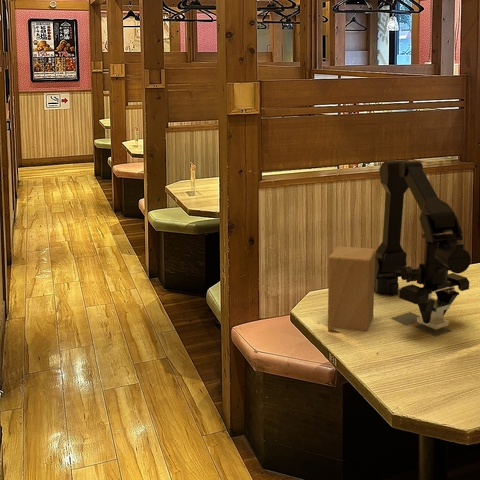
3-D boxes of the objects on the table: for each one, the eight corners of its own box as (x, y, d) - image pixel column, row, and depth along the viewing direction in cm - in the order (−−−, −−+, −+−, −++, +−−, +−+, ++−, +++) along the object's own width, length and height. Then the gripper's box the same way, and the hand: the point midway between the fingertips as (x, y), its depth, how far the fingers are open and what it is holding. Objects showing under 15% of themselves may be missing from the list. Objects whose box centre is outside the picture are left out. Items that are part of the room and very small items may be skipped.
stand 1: (389, 323, 172) (390, 318, 171) (410, 317, 175) (410, 312, 175) (406, 331, 167) (406, 325, 167) (426, 324, 171) (427, 318, 170)
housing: (429, 317, 168) (430, 297, 166) (448, 325, 163) (449, 304, 161) (416, 321, 165) (418, 300, 164) (435, 329, 160) (436, 308, 159)
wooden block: (373, 321, 173) (375, 248, 168) (367, 337, 164) (369, 259, 159) (335, 317, 176) (336, 245, 171) (327, 332, 167) (328, 256, 162)
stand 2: (412, 332, 166) (413, 326, 166) (429, 326, 169) (429, 321, 169) (435, 342, 160) (435, 336, 160) (451, 336, 163) (452, 330, 163)
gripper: (437, 246, 171) (433, 303, 175) (384, 259, 161) (381, 319, 166) (472, 256, 162) (468, 316, 166) (418, 271, 152) (415, 334, 156)
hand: (432, 320), depth 164 cm, fingers closed on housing, 4 cm apart
